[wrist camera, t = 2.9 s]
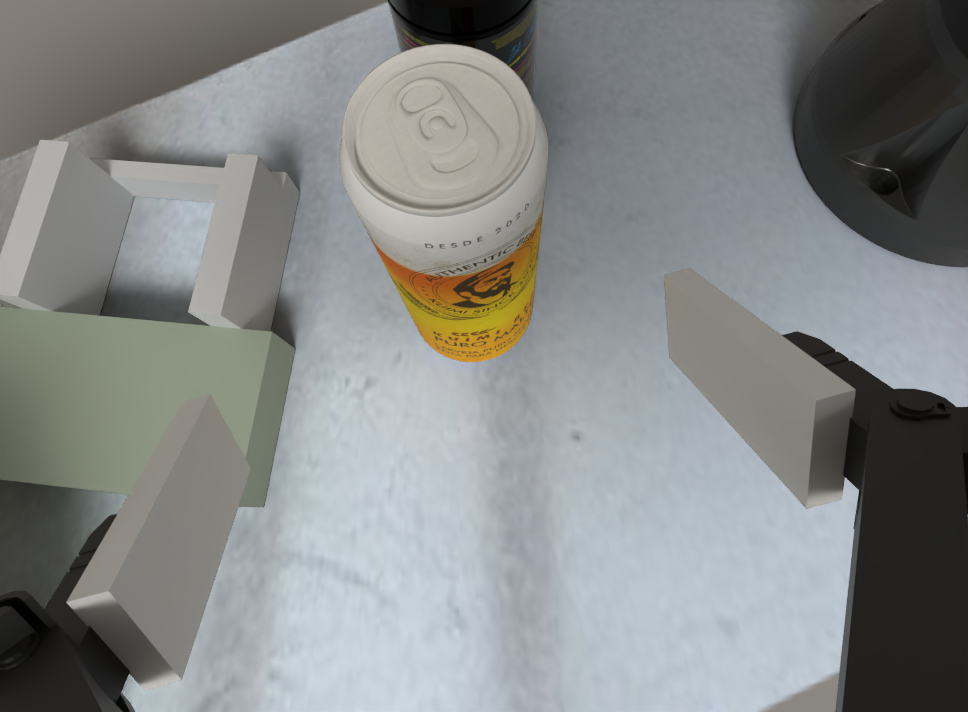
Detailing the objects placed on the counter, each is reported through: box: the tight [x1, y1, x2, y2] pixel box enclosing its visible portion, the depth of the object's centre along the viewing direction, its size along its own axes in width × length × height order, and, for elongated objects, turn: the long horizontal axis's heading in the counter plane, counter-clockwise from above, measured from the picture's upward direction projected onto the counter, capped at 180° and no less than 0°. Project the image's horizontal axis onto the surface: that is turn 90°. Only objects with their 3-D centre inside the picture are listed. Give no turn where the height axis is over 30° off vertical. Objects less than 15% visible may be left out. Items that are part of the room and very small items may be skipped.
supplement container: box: [387, 0, 538, 101], centre depth 28 cm, size 7×7×10 cm
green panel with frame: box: [0, 140, 300, 507], centre depth 28 cm, size 14×17×5 cm
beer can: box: [339, 44, 549, 362], centre depth 23 cm, size 6×6×15 cm
